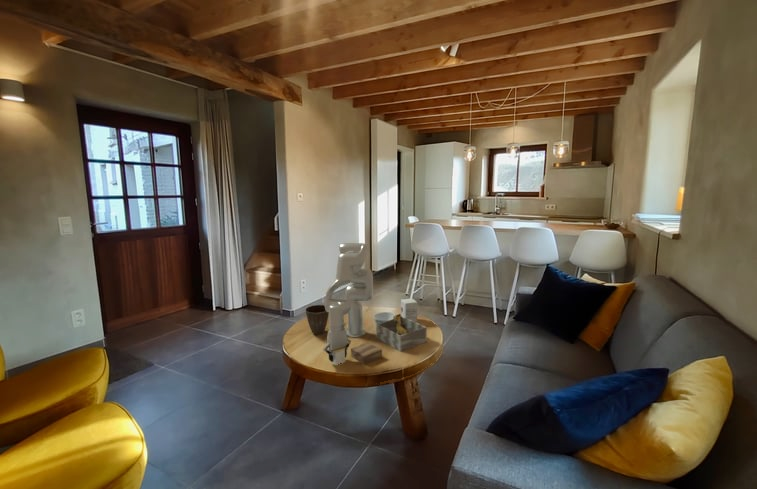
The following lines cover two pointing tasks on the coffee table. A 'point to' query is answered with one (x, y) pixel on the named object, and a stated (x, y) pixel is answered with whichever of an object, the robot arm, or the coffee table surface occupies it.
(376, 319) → the chinaware
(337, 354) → the tea tin
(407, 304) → the supplement box
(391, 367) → the coffee table surface
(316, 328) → the plant pot
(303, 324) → the coffee table surface
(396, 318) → the stuffed giraffe
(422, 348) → the coffee table surface
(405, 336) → the grey crate
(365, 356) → the walnut box
